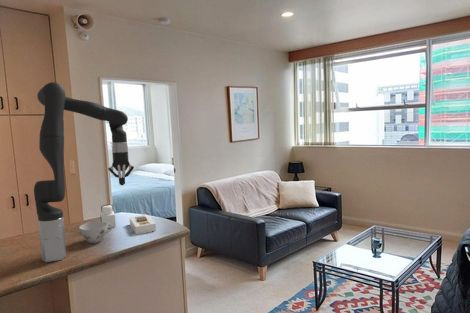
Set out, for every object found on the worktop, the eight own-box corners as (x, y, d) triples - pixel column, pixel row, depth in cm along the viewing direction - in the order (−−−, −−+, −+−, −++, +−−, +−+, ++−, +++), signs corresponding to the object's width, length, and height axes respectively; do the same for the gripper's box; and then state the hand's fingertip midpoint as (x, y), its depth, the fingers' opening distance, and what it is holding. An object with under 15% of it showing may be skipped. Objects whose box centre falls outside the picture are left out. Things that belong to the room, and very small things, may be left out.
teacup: (86, 248, 151) (84, 231, 150) (76, 241, 160) (75, 225, 159) (118, 239, 161) (117, 223, 160) (107, 233, 170) (106, 218, 169)
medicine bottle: (101, 225, 183) (99, 204, 182) (114, 223, 186) (113, 202, 185) (101, 229, 177) (100, 207, 175) (115, 227, 180) (114, 205, 178)
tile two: (147, 223, 177) (146, 218, 176) (138, 224, 175) (138, 219, 174) (145, 221, 181) (145, 216, 180) (137, 222, 179) (136, 217, 178)
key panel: (155, 231, 172) (155, 223, 171) (136, 234, 167) (135, 226, 167) (148, 221, 189) (147, 214, 188) (129, 224, 184) (129, 217, 184)
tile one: (149, 228, 171) (149, 223, 171) (141, 230, 169) (140, 225, 169) (148, 226, 175) (147, 221, 175) (139, 227, 173) (139, 222, 173)
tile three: (145, 222, 182) (144, 217, 182) (136, 223, 180) (136, 219, 180) (143, 220, 186) (143, 215, 186) (135, 221, 184) (135, 217, 184)
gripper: (106, 152, 162) (108, 187, 163) (134, 150, 167) (136, 184, 169) (105, 151, 169) (108, 185, 170) (132, 150, 174) (134, 182, 176)
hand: (122, 185), depth 169 cm, fingers closed
